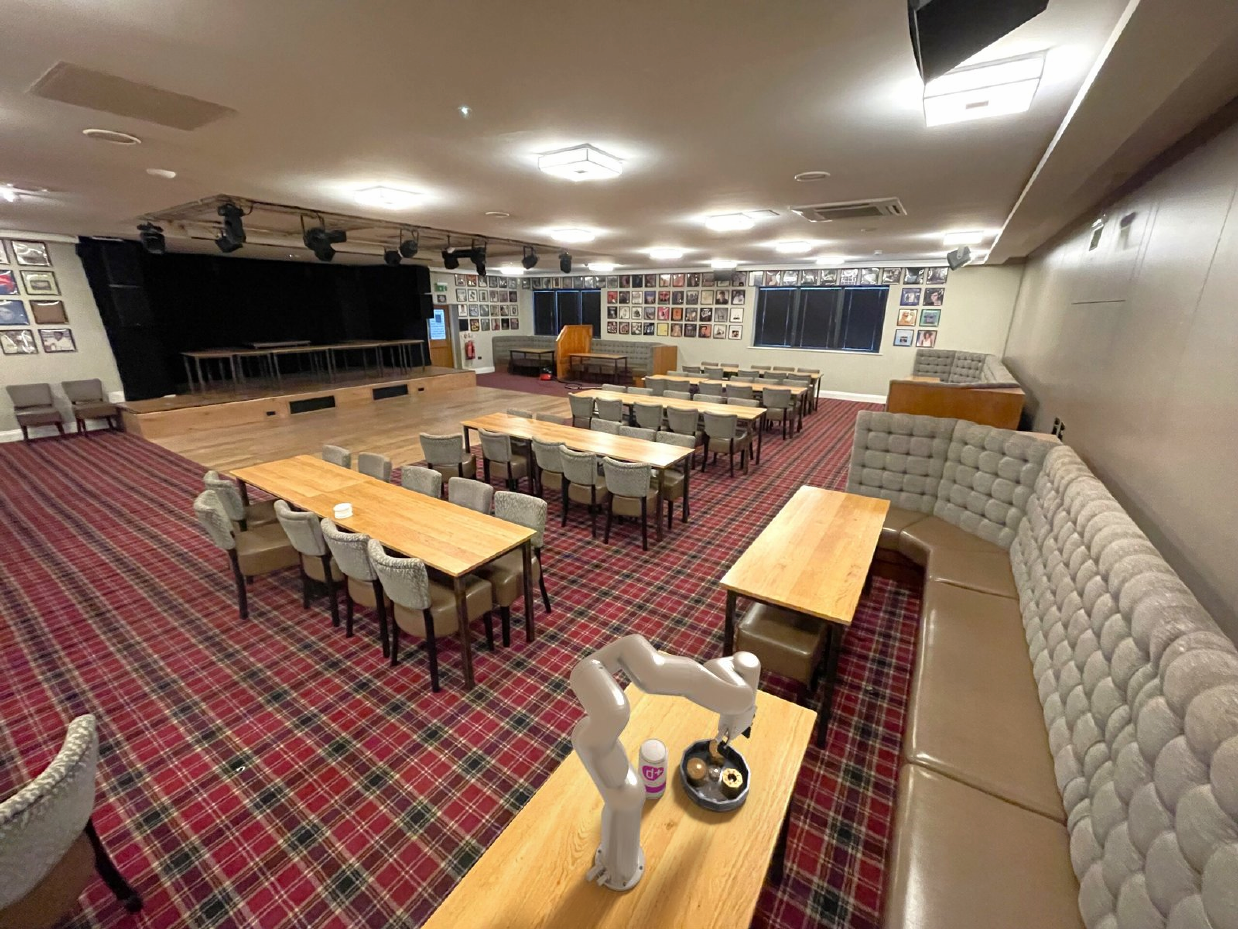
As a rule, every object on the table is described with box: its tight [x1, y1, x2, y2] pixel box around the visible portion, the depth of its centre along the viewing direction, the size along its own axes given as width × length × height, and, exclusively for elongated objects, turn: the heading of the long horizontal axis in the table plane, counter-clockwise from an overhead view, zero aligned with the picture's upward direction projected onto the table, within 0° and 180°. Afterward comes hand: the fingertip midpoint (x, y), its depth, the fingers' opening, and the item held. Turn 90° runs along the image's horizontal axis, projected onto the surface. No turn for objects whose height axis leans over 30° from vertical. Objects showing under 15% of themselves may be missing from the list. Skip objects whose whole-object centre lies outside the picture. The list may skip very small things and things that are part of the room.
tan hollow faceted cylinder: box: [720, 769, 742, 799], centre depth 140 cm, size 5×5×5 cm
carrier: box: [678, 738, 752, 813], centre depth 145 cm, size 20×20×6 cm
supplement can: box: [637, 737, 669, 800], centre depth 140 cm, size 8×8×15 cm
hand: (733, 744), depth 135 cm, fingers open, 9 cm apart
